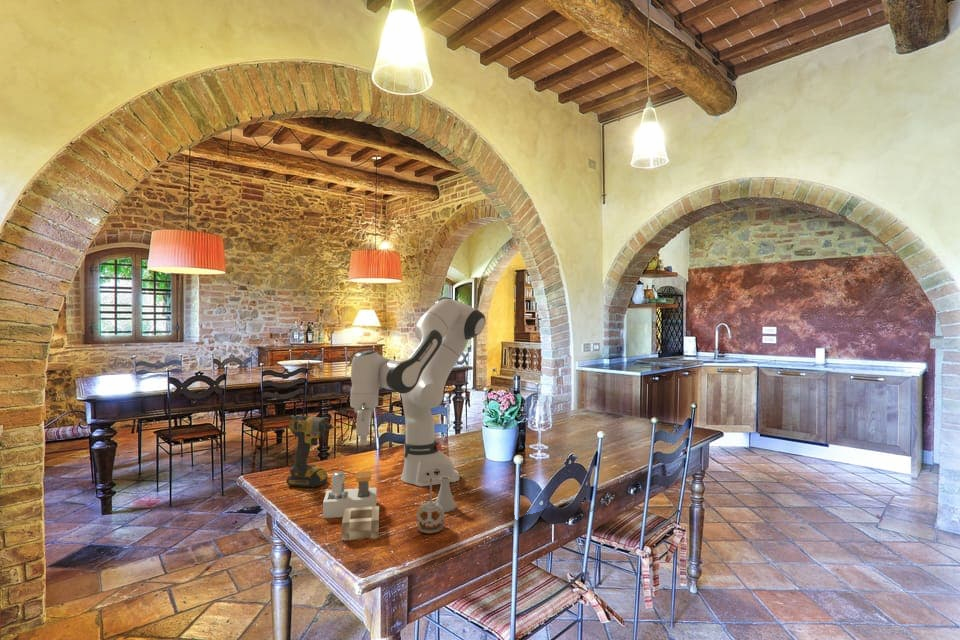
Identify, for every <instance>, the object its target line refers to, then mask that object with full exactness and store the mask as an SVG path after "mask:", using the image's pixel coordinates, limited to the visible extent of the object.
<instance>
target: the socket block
mask: <svg viewBox="0 0 960 640" xmlns="http://www.w3.org/2000/svg"><path fill="white" fill-rule="evenodd" d="M377 490H378V489H377V486H376V487H369V495H368V497H359V487H358V488H347V489H346V488H345V498H343V499H332V489H327V490H326V492H325V495H324V498H323V502H322V519H333V518H343V515H344V510H345V508H358V507H372V506H377V497H378V496H377V495H378V494H377V492H378V491H377Z"/></svg>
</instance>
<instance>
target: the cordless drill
mask: <svg viewBox="0 0 960 640" xmlns="http://www.w3.org/2000/svg"><path fill="white" fill-rule="evenodd" d="M334 428H336V429H341V428H342V427H341V426H334V425H333V424H332V423H329V421H328V419H326V418H322V417H318V416H310V415H299V414H298V415H294V416H292V417H290V420H289V421H288V430H289V431H290V432H291V433H292V435H294V436H296V437H297V445H296V449H295V454H294V462H293V465H292V466H291V467H290V469H289V474H290V475H289V476H287V479H286V485H288V486H290V487H291V486H293V487H303V488H304V487H305V488H317V487H322V486H323V485H325V484H326V483H327V482H328V474H327V472H326V471H325V469H323V468H322V467H320V466H319V465H318V466H317V465H315V464H308V463H307V462H308V461H307V459H308V456H309V454H310V450H311V446H317V445H318V439H320V438H322V437H323V436H324V435H325V434H326V432H327V431H328V430H329V431H330V430H332V429H334Z"/></svg>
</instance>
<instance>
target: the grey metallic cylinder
mask: <svg viewBox="0 0 960 640" xmlns="http://www.w3.org/2000/svg"><path fill="white" fill-rule="evenodd" d="M345 477H346V472H344V471H334V472H332V473H331V490H332V499H343V498H345V489H346V488H345V487H346V486H345V485H346V484H345V481H346V480H345Z"/></svg>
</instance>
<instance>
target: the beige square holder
mask: <svg viewBox="0 0 960 640" xmlns="http://www.w3.org/2000/svg"><path fill="white" fill-rule="evenodd" d="M341 520H342V522H341V541H343V540H344V541H353V540H356V541H357V540H364V538H369V539H378V538H379V537H380V536H379V535H380V533H379V531H380V529H379V527H380V505H376V506H372V507H358V508H345V510H344V515H343V517H342V519H341Z"/></svg>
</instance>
